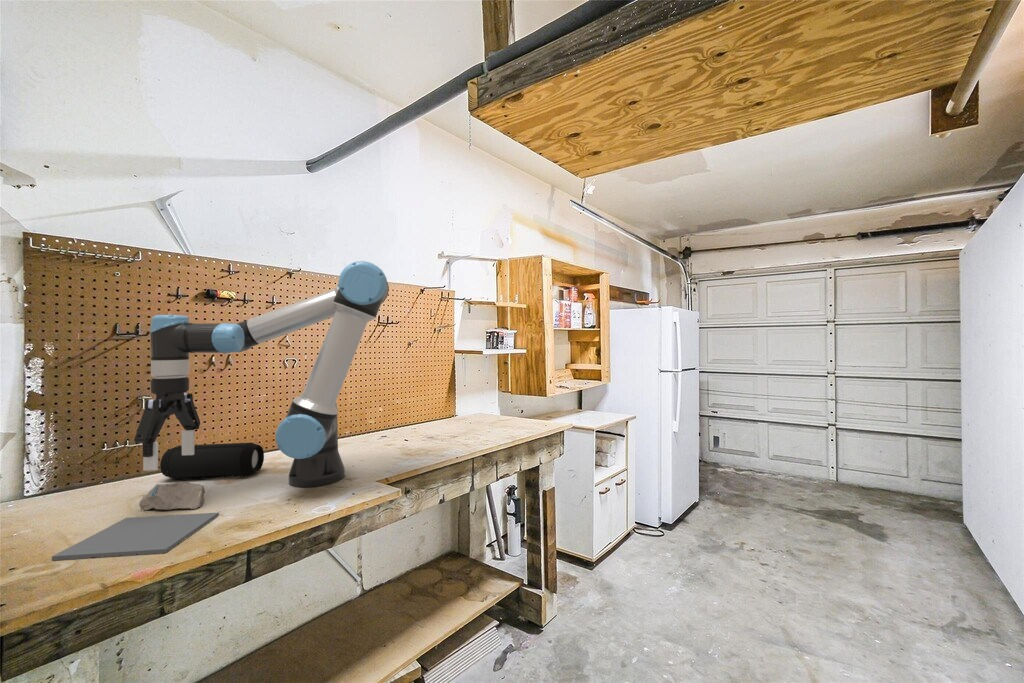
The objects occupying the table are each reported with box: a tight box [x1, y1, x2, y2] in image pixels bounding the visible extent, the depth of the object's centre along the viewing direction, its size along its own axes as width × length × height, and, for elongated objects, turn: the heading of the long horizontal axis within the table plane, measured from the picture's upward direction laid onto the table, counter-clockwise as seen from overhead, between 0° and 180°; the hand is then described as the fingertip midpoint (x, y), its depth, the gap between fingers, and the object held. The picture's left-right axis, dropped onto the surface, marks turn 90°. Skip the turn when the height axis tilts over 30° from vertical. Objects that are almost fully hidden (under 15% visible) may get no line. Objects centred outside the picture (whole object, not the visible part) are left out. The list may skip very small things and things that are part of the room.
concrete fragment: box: [138, 481, 206, 511], centre depth 108 cm, size 7×14×6 cm, turn 88°
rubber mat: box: [51, 512, 220, 562], centre depth 92 cm, size 20×18×1 cm
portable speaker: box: [160, 442, 265, 480], centre depth 132 cm, size 26×10×10 cm, turn 95°
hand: (170, 462), depth 108 cm, fingers open, 13 cm apart
